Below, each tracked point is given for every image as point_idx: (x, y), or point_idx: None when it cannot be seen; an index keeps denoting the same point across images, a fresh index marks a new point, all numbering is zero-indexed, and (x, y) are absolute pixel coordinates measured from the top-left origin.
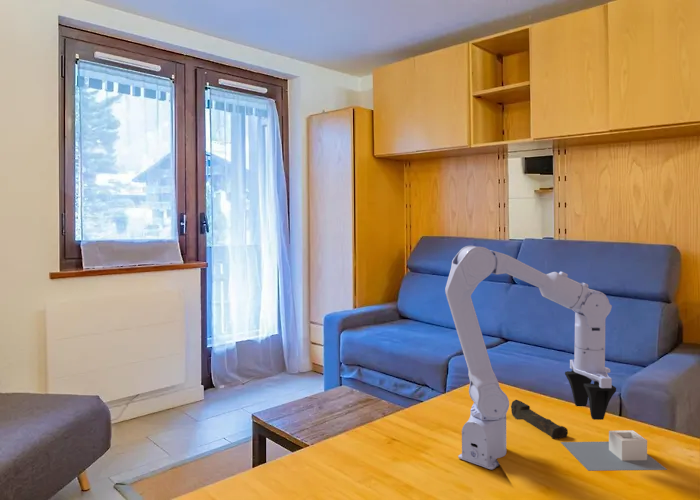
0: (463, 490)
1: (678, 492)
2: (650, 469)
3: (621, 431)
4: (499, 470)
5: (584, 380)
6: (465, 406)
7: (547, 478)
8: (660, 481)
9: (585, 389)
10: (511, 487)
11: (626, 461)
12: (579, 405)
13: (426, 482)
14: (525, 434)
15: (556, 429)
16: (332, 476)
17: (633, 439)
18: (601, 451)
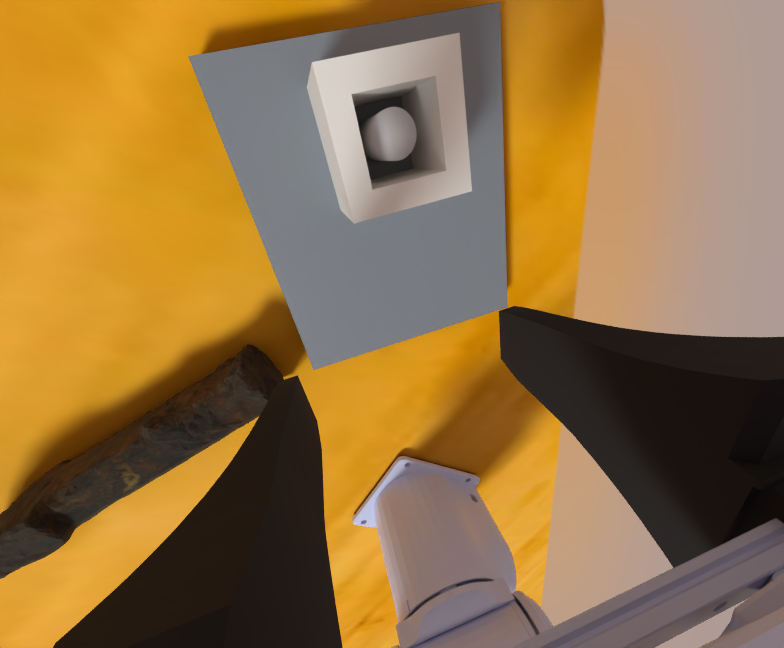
0: (543, 491)
1: (593, 39)
2: (499, 90)
3: (351, 153)
4: (474, 464)
5: (293, 579)
6: (22, 630)
7: (505, 385)
8: (524, 72)
9: (293, 474)
10: (538, 437)
11: None
12: (311, 412)
13: (518, 533)
14: (228, 453)
15: None
16: None
17: (454, 120)
18: (365, 243)
